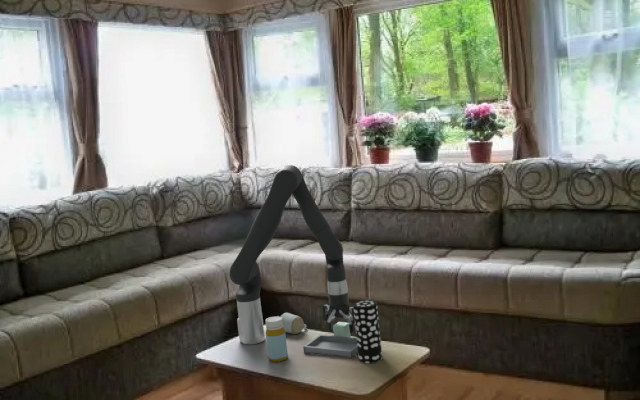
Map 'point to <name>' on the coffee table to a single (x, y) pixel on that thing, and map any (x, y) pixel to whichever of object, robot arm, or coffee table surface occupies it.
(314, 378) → the coffee table surface
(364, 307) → the white-spotted black cylinder
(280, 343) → the bottle
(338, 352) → the gray tray
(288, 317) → the ceramic mug
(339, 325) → the sage block
